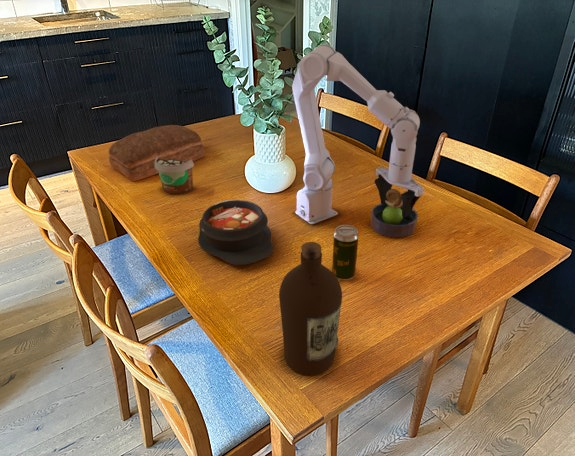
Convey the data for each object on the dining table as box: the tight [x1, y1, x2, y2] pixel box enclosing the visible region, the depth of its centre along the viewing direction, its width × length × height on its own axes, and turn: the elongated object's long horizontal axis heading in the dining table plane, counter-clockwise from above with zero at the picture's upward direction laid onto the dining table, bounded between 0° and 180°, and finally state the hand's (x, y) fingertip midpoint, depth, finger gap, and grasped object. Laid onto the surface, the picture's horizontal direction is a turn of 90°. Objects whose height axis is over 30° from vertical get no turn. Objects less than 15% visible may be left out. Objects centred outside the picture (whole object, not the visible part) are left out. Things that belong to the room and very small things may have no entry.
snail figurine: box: [382, 188, 408, 225], centre depth 119 cm, size 5×6×12 cm
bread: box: [108, 124, 206, 182], centre depth 156 cm, size 17×29×11 cm, turn 133°
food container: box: [155, 156, 195, 196], centre depth 138 cm, size 12×6×10 cm, turn 76°
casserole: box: [197, 199, 275, 266], centre depth 115 cm, size 25×19×8 cm
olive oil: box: [278, 241, 343, 377], centre depth 79 cm, size 11×11×25 cm
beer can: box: [331, 224, 359, 282], centre depth 102 cm, size 5×5×12 cm
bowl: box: [369, 203, 419, 239], centre depth 121 cm, size 12×12×4 cm
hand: (395, 209), depth 120 cm, fingers open, 7 cm apart
